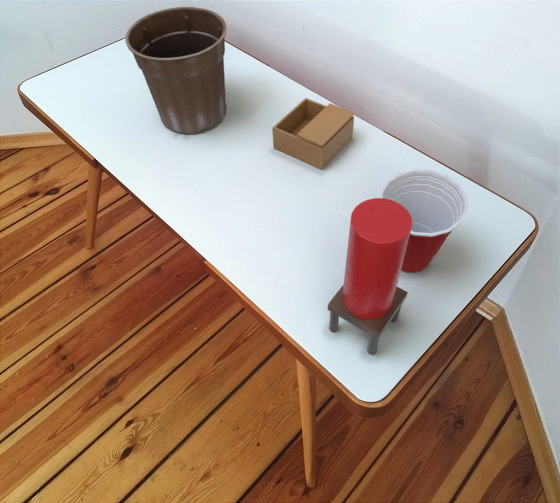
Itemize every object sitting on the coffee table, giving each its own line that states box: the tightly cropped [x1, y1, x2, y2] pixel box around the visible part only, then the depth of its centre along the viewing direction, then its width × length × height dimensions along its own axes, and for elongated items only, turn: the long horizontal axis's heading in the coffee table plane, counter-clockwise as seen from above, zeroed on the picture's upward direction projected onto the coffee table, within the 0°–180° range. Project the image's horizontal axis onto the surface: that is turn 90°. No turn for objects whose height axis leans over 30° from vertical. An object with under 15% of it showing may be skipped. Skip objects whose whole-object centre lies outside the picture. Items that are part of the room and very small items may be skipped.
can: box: [342, 197, 412, 319], centre depth 56 cm, size 6×6×14 cm
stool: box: [327, 283, 409, 356], centre depth 64 cm, size 7×7×6 cm
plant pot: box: [124, 6, 228, 135], centre depth 89 cm, size 16×16×16 cm
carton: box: [272, 97, 355, 171], centre depth 87 cm, size 10×10×4 cm
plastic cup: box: [379, 168, 469, 274], centre depth 68 cm, size 11×11×12 cm
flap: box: [297, 102, 355, 147], centre depth 84 cm, size 5×10×1 cm, turn 144°
